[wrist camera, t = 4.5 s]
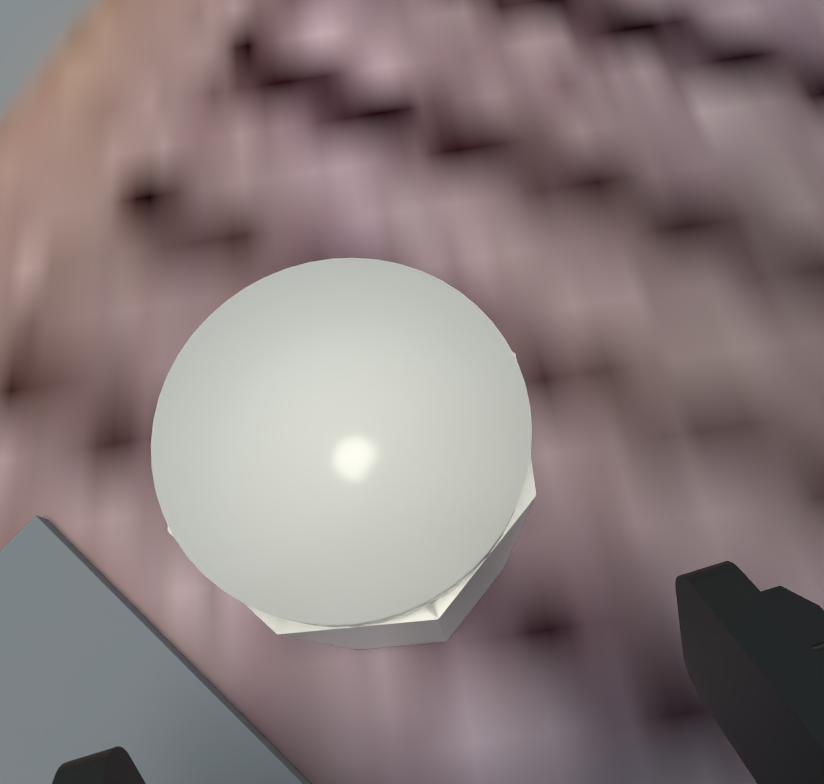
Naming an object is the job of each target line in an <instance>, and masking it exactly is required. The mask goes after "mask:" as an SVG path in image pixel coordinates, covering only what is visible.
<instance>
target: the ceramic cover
mask: <svg viewBox="0 0 824 784" xmlns="http://www.w3.org/2000/svg"><path fill="white" fill-rule="evenodd" d="M531 439H532V423H531V411H530V403H529V399H528V394H527V390H526V385H525V381H524V379H523V376H522V373H521V371H520V368H519V365H518V363H517V360H516V354H515V353H513V352H512V351H511V349H510V347H509V345H508V343H507V342H506V340H505V339H504V337H503V336H502V334H501V333H500V332H499V330H498V329H497V328H496V326H495V325H494V323H493V322H492V321H491V320H490V319H489V318H488V317H487V316H486V315H485V314H484V313H483V311H482V310H481V309H480V308H479V307H478V306H477V305H476V304H474V303H473V302H472V301H471V300H469V299H468V298H467V297H466V296H464V295H463V294H462V293H461V292H459V291H458V290H456V289H455V288H453V287H451V286H450V285H448V284H446V283H445V282H443V281H442V280H440V279H438V278H436V277H433V276H431V275H429V274H427V273H425V272H422V271H420V270H417V269H414V268H411V267H408V266H404V265H401V264H398V263H393V262H387V261H382V260H377V259H363V258H339V259H327V260H321V261H314V262H308V263H305V264H301V265H297V266H294V267H290V268H287V269H284V270H282V271H279V272H277V273H274V274H272V275H269V276H267V277H264V278H263V279H261V280H259V281H257V282H255V283H253V284H252V285H250V286H248V287H246V288H244V289H243V290H241V291H240V292H238V293H237V294H236V295H234V296H233V297H231V298H230V299H229V300H227V301H226V302H224V303H223V304H222V305H221V306H220V307H219V308H218V309H217V310H215V311H214V312H213V313H212V314H211V315H210V316H209V317H208V318H207V319H206V320H205V321H204V322H203V323H202V324H201V325H200V327H199V328H198V329H197V330H196V331H195V332H194V333H193V334H192V336H191V337H190V339H189V340H188V341H187V343H186V344H185V346H184V347H183V349H182V350H181V351H180V353H179V354H178V356H177V358H176V360H175V362H174V364H173V366H172V367H171V369H170V371H169V373H168V375H167V378H166V380H165V383H164V385H163V388H162V391H161V393H160V396H159V399H158V404H157V408H156V412H155V416H154V420H153V429H152V439H151V463H152V473H153V479H154V485H155V491H156V494H157V497H158V500H159V504H160V507H161V510H162V513H163V515H164V518H165V520H166V522H167V524H168V532H169V533H170V534H171V535H172V536H173V537H174V538H175V539H176V541H177V542H178V544H179V545H180V547H181V548H182V550H183V551H184V553H185V554H186V555H187V557H188V558H189V559H190V560H191V561H192V562H193V563H194V565H195V566H196V567H197V568H198V569H199V570H200V571H201V572H202V573H203V574H204V575H205V576H206V577H207V578H208V579H209V580H211V581H212V582H213V583H214V584H216V585H217V586H218V587H219V588H220V589H222V590H223V591H224V592H226V593H228V594H229V595H231V596H233V597H234V598H236V599H238V600H239V601H241V602H243V603H244V604H245V605H246V606H247V607H249V608H250V609H251V610H252V611H253V612H254V613H255V614H256V615H257V616H258V617H259V618H260V619H261V620H262V621H263V622H264V623H266V624H267V625H268V626H269V627H270V628H271V629H272V630H273V631H274V632H275V633H276V634H278V635H283V636H288V637H293V638H298V639H303V640H308V641H313V642H319V643H324V644H329V645H334V646H339V647H344V648H349V649H354V650H360V649H371V648H382V647H393V646H403V645H414V644H425V643H436V642H447V641H448V639H449V638H450V637H451V635H452V634H453V633H454V632H455V630H456V629H457V628H458V626H459V625H460V624H461V623H462V621H463V620H464V619H465V618H466V616H467V615H468V614H469V612H470V611H471V610H472V609H473V607H474V606H475V605H476V603H477V602H478V601H479V600H480V598H481V597H482V596H483V595H484V593H485V592H486V591H487V589H488V588H489V587H490V586H491V584H492V583H493V582H494V580H495V579H496V578H497V577H498V575H499V574H500V573H501V572H502V570H503V568H504V566H505V564H506V562H507V559H508V557H509V555H510V553H511V551H512V548H513V546H514V544H515V542H516V539H517V537H518V535H519V533H520V531H521V528H522V526H523V524H524V522H525V519H526V517H527V515H528V513H529V511H530V508H531V506H532V504H533V502H534V500H535V497H536V490H535V483H534V476H533V469H532V462H531V456H530V455H531Z"/></svg>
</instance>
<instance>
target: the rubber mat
mask: <svg viewBox="0 0 824 784" xmlns="http://www.w3.org/2000/svg"><path fill="white" fill-rule="evenodd" d="M117 746H120V747H122V748H124V749H125V750H126V751H127V752H128V754H129V755H130V757H131V759H132V761H133V762H134V764H135V766H136V768H137V769H138V771H139V773H140V774H141V776H142V778H143V780H144V781H145V783H146V784H311V783H310V782H309V781H308V780H307V779H306V778H305V777H304V776H303V775H302V774H301V773H300V772H299V771H298V770H297V769H296V768H295V767H294V766H293V765H292V764H291V763H290V762H289V761H288V760H287V759H286V758H285V757H284V756H283V755H282V754H281V753H280V752H279V751H278V750H277V749H276V748H275V747H274V746H273V745H272V744H271V743H270V742H269V741H268V740H267V739H266V738H265V737H264V736H263V735H262V734H261V733H260V732H259V731H258V730H257V729H256V728H255V727H254V726H253V725H252V724H251V723H250V722H249V721H248V720H247V719H246V718H245V717H244V716H243V715H242V714H241V713H240V712H239V711H238V710H237V709H236V708H235V707H234V706H233V705H232V704H231V703H230V702H229V701H228V700H227V699H226V698H225V697H224V696H223V695H222V694H221V693H220V692H219V691H218V690H217V689H216V688H215V687H214V686H213V685H212V684H211V683H210V682H209V681H208V680H207V679H206V678H205V677H204V676H203V675H202V674H201V673H200V672H199V671H198V670H197V669H196V668H195V667H194V666H193V665H192V664H191V663H190V662H189V661H188V660H187V659H186V658H185V657H184V656H183V655H182V654H181V653H180V652H179V651H178V650H177V649H176V648H175V647H174V646H173V645H172V644H171V643H170V642H169V641H168V640H167V639H166V638H165V637H164V636H163V635H162V634H161V633H160V632H159V631H158V630H157V629H156V628H155V627H154V626H153V625H152V624H151V623H150V622H149V621H148V620H147V619H146V618H145V617H144V616H143V615H142V614H141V613H140V612H139V611H138V610H137V609H136V608H135V607H134V606H133V605H132V604H131V603H130V602H129V601H128V600H127V599H126V598H125V597H124V596H123V595H122V594H121V593H120V592H119V591H118V590H117V589H116V588H115V587H114V586H113V585H112V584H111V583H110V582H109V581H108V580H107V579H106V578H105V577H104V576H103V575H102V574H101V573H100V572H99V571H98V570H97V569H96V568H95V567H94V566H93V565H92V564H91V563H90V562H89V561H88V560H87V559H86V558H85V557H84V556H83V555H82V554H81V553H80V552H79V551H78V550H77V549H76V548H75V547H74V546H73V545H72V544H71V543H70V542H69V541H68V540H67V539H66V538H65V537H64V536H63V535H62V534H61V533H60V532H59V531H58V530H57V529H56V528H55V527H54V526H53V525H52V524H51V523H50V522H49V521H48V520H47V519H44V518H41V517H39V516H35V517H34V518H33V519H32V520H31V521H30V522H29V523H28V524H27V525H26V526H25V527H24V528H23V529H22V530H21V531H20V532H19V533H18V534H17V535H16V536H15V537H14V538H13V539H12V540H11V541H10V542H9V543H8V544H7V545H6V546H5V547H4V548H3V549H2V550H1V551H0V784H52V782H53V779H54V776H55V774H56V772H57V770H58V768H59V767H60V766H61V765H62V764H63V763H65V762H68V761H71V760H74V759H78V758H81V757H84V756H88V755H91V754H94V753H97V752H101V751H104V750H107V749H110V748H114V747H117Z"/></svg>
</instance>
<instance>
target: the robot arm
mask: <svg viewBox="0 0 824 784" xmlns="http://www.w3.org/2000/svg"><path fill="white" fill-rule="evenodd" d="M675 585H676V595H677V604H678V613H679V621H680V630H681V639H682V647H683V655H684V660H685V664H686V667H687V670H688V673H689V676H690V678H691V680H692V683H693V685H694V687H695V689H696V691H697V693H698V695H699V697H700V698H701V700H702V701H703V703H704V704H705V706H706V707H707V709H708V710H709V712H710V713H711V715H712V716H713V718H714V719H715V721H716V722H717V724H718V725H719V727H720V728H721V730H722V731H723V733H724V734H725V736H726V737H727V739H728V740H729V742H730V743H731V745H732V746H733V748H734V749H735V751H736V752H737V754H738V755H739V757H740V758H741V760H742V761H743V763H744V764H745V766H746V767H747V769H748V770H749V772H750V773H751V775H752V776H753V778H754V779H755V781H756V782H757V784H824V610H823V609H822V608H821V607H820V606H819V605H817V604H815V603H813V602H811V601H809V600H807V599H805V598H803V597H801V596H799V595H797V594H795V593H793V592H791V591H790V590H788V589H786V588H784V587H782V586H778V587H774V588H771V589H768V590H765V591H762V592H760V591H759V589H758V588H757V587H756V586H755V585H754V584H753V583H752V582H751V581H750V580H749V579H748V578H747V576H746V575H745V574H744V573H743V572H742V571H741V570H740V569H739V568H738V567H737V566H736V565H735V564H733V563H732V562H730V561H725V562H722V563H719V564H716V565H712V566H709V567H706V568H703V569H699V570H696V571H693V572H690V573H686V574H683V575H680V576H678V577H677V578H676V584H675ZM52 784H146V783H145V781H144V780H143V778H142V776H141V774H140V773H139V771H138V769H137V768H136V766H135V764H134V762H133V761H132V759H131V757H130V755H129V754H128V752H127V751H126V750H125V749H124V748H122V747H120V746H117V747H114V748H110V749H107V750H104V751H101V752H97V753H94V754H91V755H88V756H84V757H81V758H78V759H74V760H71V761H68V762H65V763H63V764H62V765H61V766H60V767H59V768H58V770H57V772H56V774H55V776H54V779H53V782H52Z"/></svg>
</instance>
